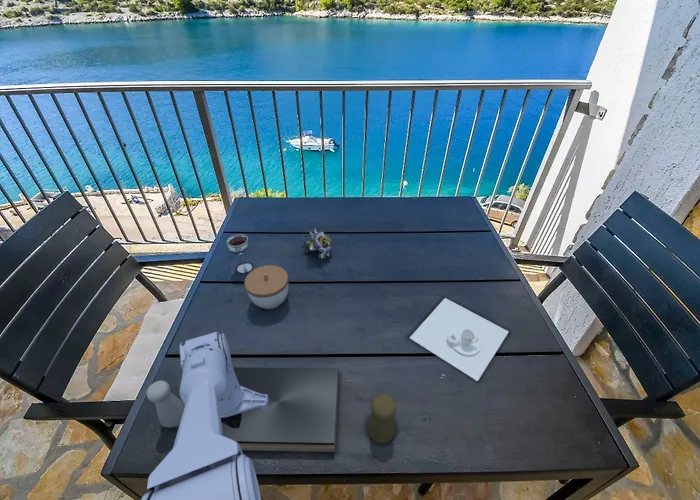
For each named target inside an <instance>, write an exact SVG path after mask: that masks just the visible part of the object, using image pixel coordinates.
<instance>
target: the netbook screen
mask: <svg viewBox="0 0 700 500" xmlns="http://www.w3.org/2000/svg"><path fill="white" fill-rule="evenodd" d="M233 369H234V372H235V375H236V377H237V380H238V383H239V385H240V386H242V387H244V388H247V389H249V390H252V391H254V392H257V393H260V394H267V395H268V398H269V403H268V407H267V410H261V408H260V407H258V408H255V409H251V410H248V411H245V412H242V414H241V416H242V420H241V423H240V427H239V428H231V427H229V426H228V425H226V424H224V423H222V422H221V425H222V432H223V436H224V437H227V438H229V439H232V440H234V441H236V442H237V443H246V444H302V445H334V443H335V444H336V440H335V425H336V426H337V420H336V407H337V408H338V400H337V389H338V390H339V380H338V371H339V368H318V367H317V368H316V367H315V368H313V367H311V368H309V367H307V368H306V367H239V366H237V367H236V366H233Z"/></svg>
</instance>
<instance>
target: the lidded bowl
mask: <svg viewBox="0 0 700 500" xmlns="http://www.w3.org/2000/svg"><path fill="white" fill-rule="evenodd" d="M244 288H245V290H246V293H247V295H248V298H249V299H250V301H251V302H252V303H253V304H254V305H255V306H256V307H258V308H261V309H265V310H274V309H276V308H278V307H279V306H281V305H282V303H283V304H284V301H285V300H286V299H287V297H288V294H289V290H290V287H289V275H288V272H287V271H286V269H284V268H282V267H281V266H278V265H269V264H268V265H261V266H259V267H256V268H255V269H253V270H250V271H249V272H248V274H247V275H246V277H245V279H244Z"/></svg>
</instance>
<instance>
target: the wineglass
mask: <svg viewBox="0 0 700 500" xmlns="http://www.w3.org/2000/svg"><path fill="white" fill-rule="evenodd" d="M226 244H227V249H228V251H229V252H230V253H231V254H233V255H236V256H240V260H241V262H242V263H241V264H240V265H238V266H237V268H236V270H237V272H238V273H241V274H245V273H249V272H251V271H252V269H253V266H252V264H251V263H249V262H248V263H247V262H246V263H245V261H244V256H243V255H244V254H245V253H246V252H248V251H249V248H250V241H249V237H248V236H247V235H246V234H242V233H237V234H233V235H230V236H229V237H228V239H227V240H226Z"/></svg>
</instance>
